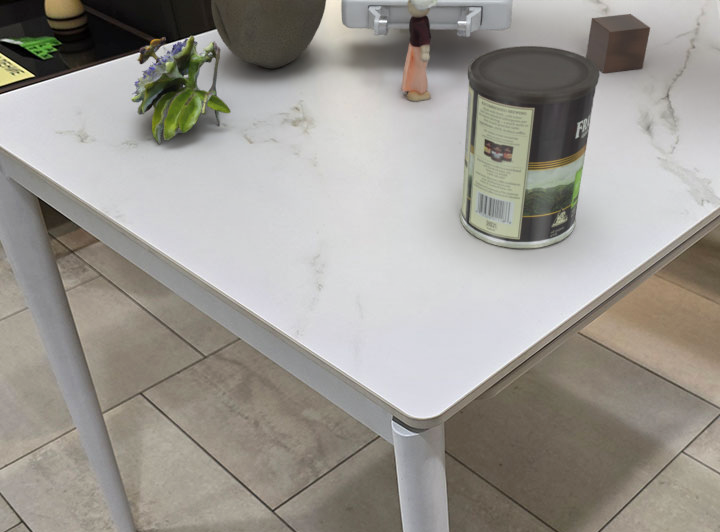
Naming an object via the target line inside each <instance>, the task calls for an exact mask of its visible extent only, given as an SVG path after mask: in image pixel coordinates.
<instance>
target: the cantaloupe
mask: <svg viewBox="0 0 720 532" xmlns="http://www.w3.org/2000/svg"><path fill="white" fill-rule="evenodd" d="M210 3H211V4H210V6H211V7H210V9H211V15H212V19H213V23H214V26H215V28H216V31H217V33H218V35H219V37H220V39H221V40H222V42H223V44H224V45H225V46H226V48H227V50H229V51H230V52H231V53H232V54H233V55H234V57H236V58H238V60H241V61H244V62H246V63H249V64H253V65H256V66H258V67H261V68H264V69H277V68H278V69H279V68H282V67H283V66H286V65H287V64H290V63H291V62H293V61H294V60H296V59H297V58H299V56H301V55H302V54H303V53H304V52H305V51H306V50H307V48H309V46H310V44H311V43H312V41H313V39H314V37H315V36H316V33H317V32H318V29H319V28H320V25H321V23H322V20H323V17H324V14H325V9H326V5H327V0H210Z"/></svg>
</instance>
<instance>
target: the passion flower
mask: <svg viewBox="0 0 720 532" xmlns="http://www.w3.org/2000/svg"><path fill="white" fill-rule="evenodd" d="M166 41H167V39H166V37H165V36H163V37H161V38H155V39H151V41H150V43H149V45H145V46H141V47H140V48H139V52H138V53H139V56H138V58H136V61H137V62H138V63H139V65H143V64H145V63H146V62H147V61H149V59H150V58H152V59H154V60H155V62H153V61H152V62H151V63H152V64H149V66H148V68H146V69H145V70H142V71H141V72H143V73H142V77H139V78H137V80H136V81H135V82H134V86H135V89H136V90H135V91H134V92H132V95H134V94H135V95H134V96H132V97H131V100H130V101H131V102H132V103H140V104H139V105H138V107H137V114H138V115H144V114H145V113H147V112H148V111H150V110H151V109H153V114H152V116H151V117H152V119H151V132H152V137H153V138H154V139H155V140H156V142H157V143H158V145H160V144H161V143H162V142H161V141H162V140H161V136H163V139H164V141H169V140H170V139H172V138H174V137H175V136H176V135H177V134H178V133H181V134H185V133H187V132H188V131H189V130H191V129H192V128H193V127H194V126H195V125H196V124H197V122H198V120H199V118H200V116H201V115H203V116H206V115H207V112H208V110H207V108H210V109H211V110H213V112H214V115H215V119H216V122H217V125H218V126H220V125H221V123H220V113H222V114H230V113H231V112H232V111H231V109H230V107H229V106H228V105H227V104H226V103H225V102H224V100H222V99H221V98H220V97H219V96H217V95H218V93H217V88H216V87H217V78H218V71H219V70H218V69H219V62H220V59H221V48H220V47H219V45H217V43H216V41H214V40H213V41H211V42H210V43H209V44H208V46H205V47H204V48H202V51H203V52H200V53H198V51H197V46H198V44H199V43H198V41H196V40H195V37H194V35H190V36H189V38H185V39H184V41H183V42H182V41H177V42H176V43H174V44H172V47H171V50H167V51H166V53H165V55H160V57H159V56H158V55H157V54H156V53H157V52H158V51H159V50H160V48H161V47H162V46H163V45H164V44H165V43H166ZM213 59H215V64H214V68H213V69H214V71H213V77H212V84H211V87H210V88H209V90H208V91H207V90H204V89H200V88H199V86H198V78H199V75H200V70H201V68H202V67H203V65H204V64H205V63H209V64H210V63H212V61H213ZM185 76H186V77H185ZM219 112H220V113H219ZM162 132H163V133H162Z"/></svg>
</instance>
